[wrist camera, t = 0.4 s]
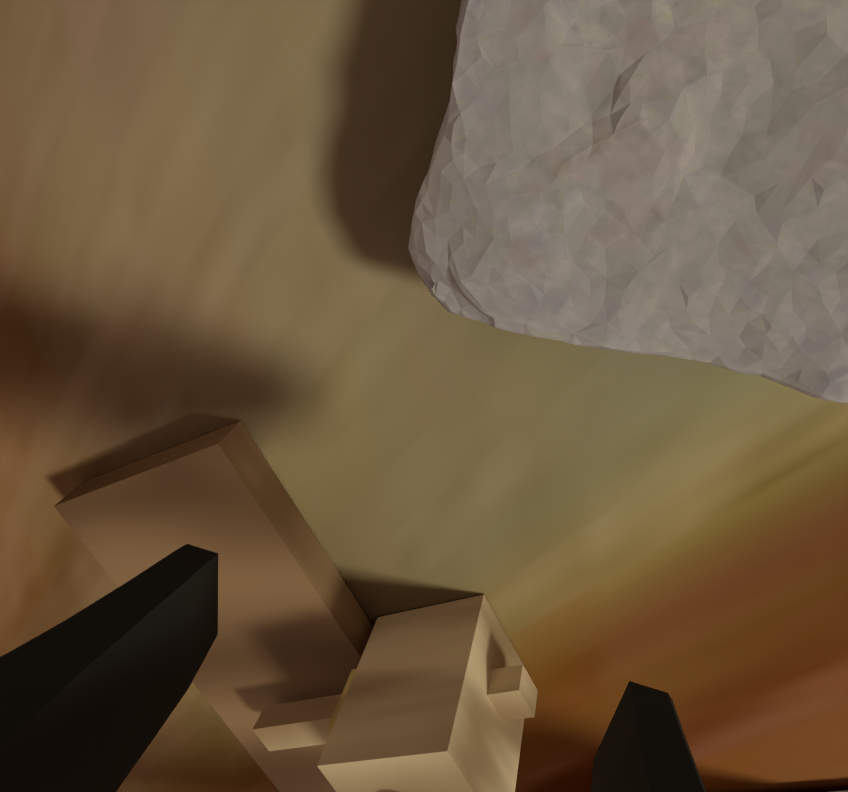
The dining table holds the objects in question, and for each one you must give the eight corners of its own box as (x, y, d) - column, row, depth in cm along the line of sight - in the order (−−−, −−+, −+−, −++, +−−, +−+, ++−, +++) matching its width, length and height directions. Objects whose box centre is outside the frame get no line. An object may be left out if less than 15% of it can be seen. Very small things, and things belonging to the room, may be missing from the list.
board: (471, 778, 28) (464, 813, 27) (317, 792, 31) (304, 824, 30) (240, 420, 22) (218, 443, 21) (82, 482, 26) (54, 506, 24)
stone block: (489, -129, 16) (418, 291, 19) (464, -261, 11) (377, 320, 14) (1035, -63, 14) (863, 380, 17) (1257, -182, 10) (975, 444, 13)
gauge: (558, 672, 24) (541, 865, 18) (317, 709, 28) (244, 875, 23) (513, 588, 23) (480, 768, 17) (268, 640, 27) (177, 798, 22)
